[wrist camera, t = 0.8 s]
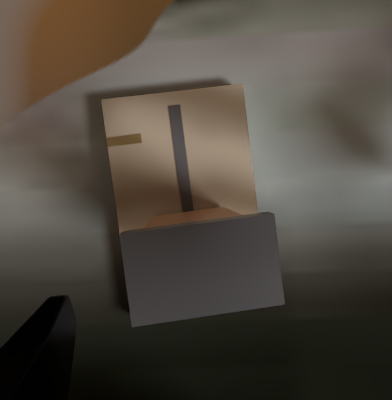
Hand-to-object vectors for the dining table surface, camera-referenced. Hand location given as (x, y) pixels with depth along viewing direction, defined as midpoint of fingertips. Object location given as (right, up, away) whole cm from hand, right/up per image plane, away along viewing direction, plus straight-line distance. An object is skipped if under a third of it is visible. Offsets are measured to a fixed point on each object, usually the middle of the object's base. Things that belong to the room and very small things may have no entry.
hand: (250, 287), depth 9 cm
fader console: (-2, +2, +17) cm, 17 cm away
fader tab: (-2, 0, +16) cm, 16 cm away
